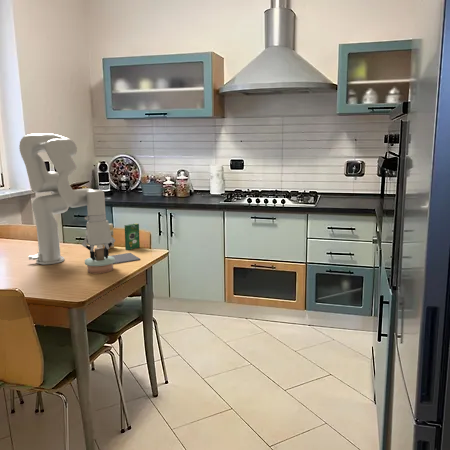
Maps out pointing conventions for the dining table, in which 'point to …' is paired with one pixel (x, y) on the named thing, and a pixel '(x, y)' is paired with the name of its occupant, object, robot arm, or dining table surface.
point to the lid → (99, 259)
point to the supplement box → (111, 235)
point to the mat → (124, 258)
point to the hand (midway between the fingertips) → (99, 258)
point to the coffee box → (132, 236)
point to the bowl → (100, 269)
